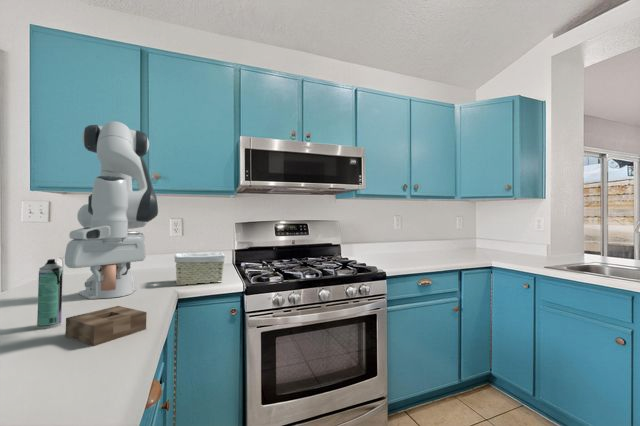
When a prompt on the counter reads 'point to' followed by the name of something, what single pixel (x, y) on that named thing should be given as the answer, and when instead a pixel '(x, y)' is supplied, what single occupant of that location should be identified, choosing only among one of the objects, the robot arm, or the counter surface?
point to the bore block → (105, 324)
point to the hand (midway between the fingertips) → (108, 280)
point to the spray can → (49, 295)
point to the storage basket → (199, 267)
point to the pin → (108, 277)
